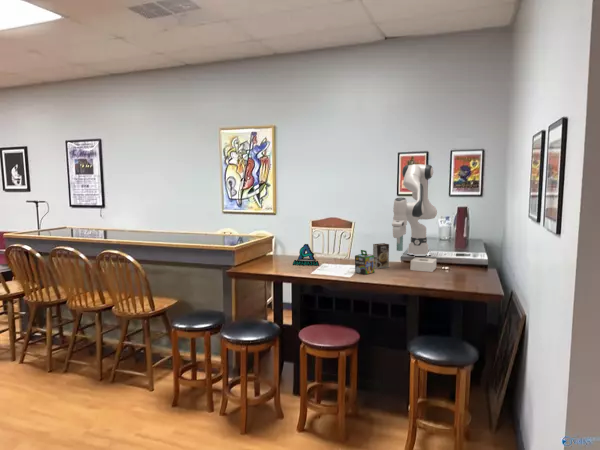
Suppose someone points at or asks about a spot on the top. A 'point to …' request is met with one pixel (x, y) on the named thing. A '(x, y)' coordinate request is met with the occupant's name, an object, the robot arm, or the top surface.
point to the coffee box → (381, 255)
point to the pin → (400, 246)
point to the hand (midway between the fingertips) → (399, 242)
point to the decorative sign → (306, 261)
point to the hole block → (423, 264)
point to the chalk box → (364, 263)
